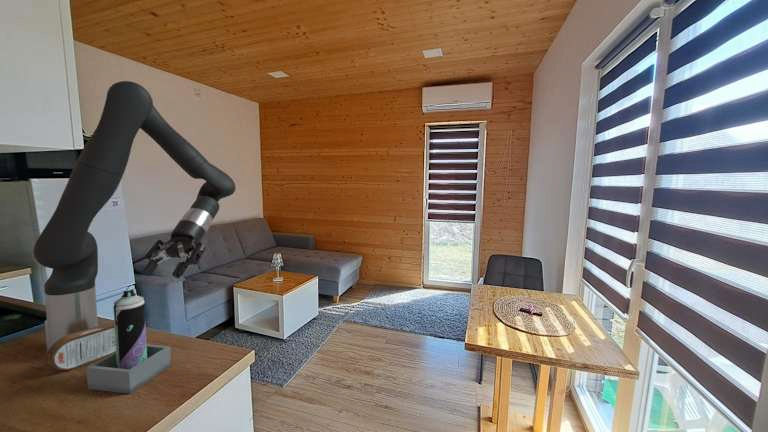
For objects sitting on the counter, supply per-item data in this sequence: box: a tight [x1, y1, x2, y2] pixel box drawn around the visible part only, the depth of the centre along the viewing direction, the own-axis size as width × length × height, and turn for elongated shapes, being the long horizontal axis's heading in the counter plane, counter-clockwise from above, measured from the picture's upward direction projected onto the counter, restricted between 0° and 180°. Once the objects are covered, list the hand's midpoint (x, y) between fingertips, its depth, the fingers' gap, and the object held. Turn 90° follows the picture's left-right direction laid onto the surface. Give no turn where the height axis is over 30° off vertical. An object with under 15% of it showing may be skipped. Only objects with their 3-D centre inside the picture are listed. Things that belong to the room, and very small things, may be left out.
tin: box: [45, 322, 116, 371], centre depth 75 cm, size 15×3×8 cm, turn 152°
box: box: [86, 343, 172, 395], centre depth 70 cm, size 11×11×5 cm
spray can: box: [113, 289, 147, 370], centre depth 69 cm, size 6×6×20 cm
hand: (160, 275), depth 77 cm, fingers open, 8 cm apart
